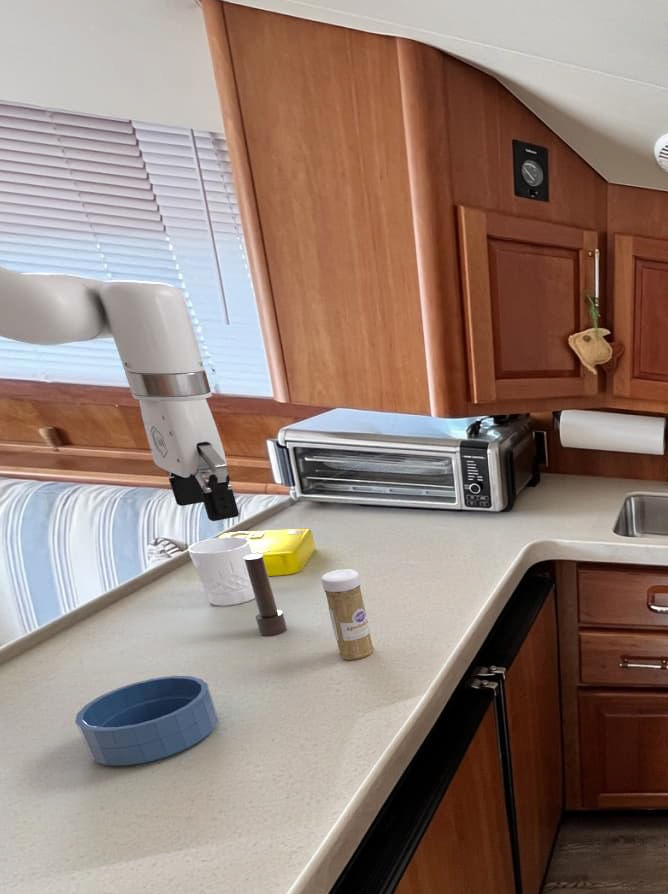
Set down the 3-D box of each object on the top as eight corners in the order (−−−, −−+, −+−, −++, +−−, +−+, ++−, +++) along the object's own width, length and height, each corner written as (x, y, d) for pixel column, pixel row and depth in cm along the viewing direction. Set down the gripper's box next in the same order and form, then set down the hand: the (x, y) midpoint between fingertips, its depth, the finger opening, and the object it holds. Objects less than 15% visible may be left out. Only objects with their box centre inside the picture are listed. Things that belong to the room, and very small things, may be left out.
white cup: (239, 585, 115) (224, 534, 111) (275, 592, 114) (261, 540, 110) (192, 603, 108) (174, 549, 104) (230, 610, 107) (214, 556, 103)
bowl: (71, 778, 71) (52, 738, 69) (120, 720, 80) (105, 683, 78) (200, 758, 75) (186, 719, 73) (232, 705, 85) (221, 669, 82)
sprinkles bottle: (363, 661, 96) (346, 581, 91) (332, 660, 96) (313, 579, 91) (380, 646, 100) (364, 569, 95) (350, 645, 100) (333, 567, 95)
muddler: (257, 637, 100) (235, 561, 95) (263, 627, 103) (242, 553, 98) (283, 634, 101) (263, 559, 96) (289, 624, 104) (270, 551, 99)
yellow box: (199, 582, 115) (191, 558, 113) (227, 552, 128) (221, 530, 126) (300, 574, 121) (294, 551, 119) (318, 546, 134) (313, 525, 132)
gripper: (104, 378, 83) (146, 503, 89) (160, 396, 75) (202, 531, 82) (178, 375, 89) (213, 492, 95) (237, 392, 81) (270, 518, 88)
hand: (208, 510), depth 89 cm, fingers open, 9 cm apart
